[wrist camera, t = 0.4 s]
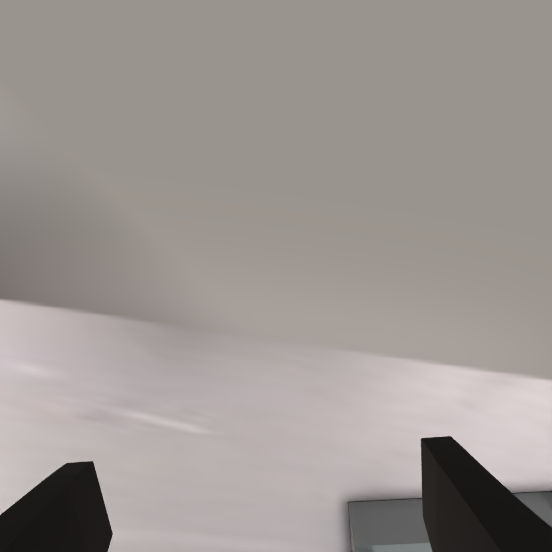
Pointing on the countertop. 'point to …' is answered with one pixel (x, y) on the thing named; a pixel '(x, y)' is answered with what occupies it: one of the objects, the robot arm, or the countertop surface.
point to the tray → (411, 523)
